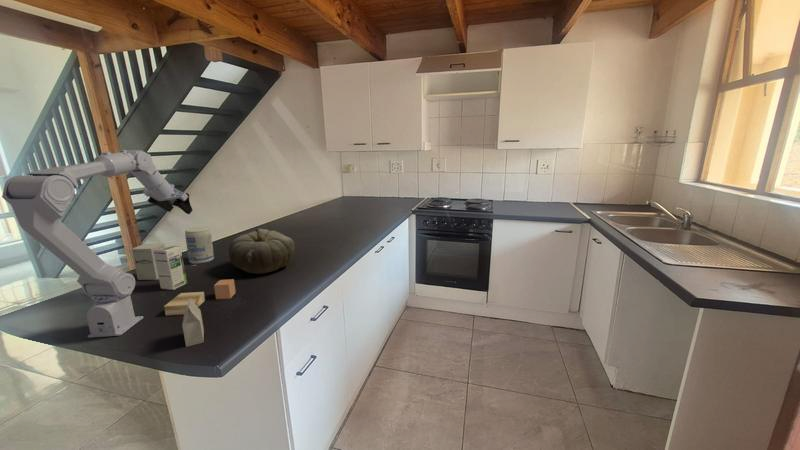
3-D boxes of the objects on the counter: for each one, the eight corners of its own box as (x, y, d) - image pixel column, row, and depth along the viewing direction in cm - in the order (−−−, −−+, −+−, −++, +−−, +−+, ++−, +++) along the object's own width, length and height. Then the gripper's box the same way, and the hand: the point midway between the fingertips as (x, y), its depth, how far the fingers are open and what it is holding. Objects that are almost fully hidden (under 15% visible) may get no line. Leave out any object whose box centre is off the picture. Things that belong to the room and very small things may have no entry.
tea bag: (203, 329, 86) (198, 296, 84) (203, 342, 80) (197, 306, 78) (187, 333, 84) (181, 299, 82) (186, 346, 78) (179, 310, 76)
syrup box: (173, 290, 111) (166, 250, 107) (160, 288, 112) (152, 249, 108) (187, 283, 116) (181, 246, 113) (174, 282, 117) (167, 245, 114)
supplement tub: (188, 265, 134) (182, 232, 131) (190, 259, 142) (185, 227, 139) (214, 262, 139) (209, 229, 135) (215, 256, 147) (210, 225, 143)
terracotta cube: (230, 298, 104) (228, 284, 103) (216, 299, 104) (213, 285, 102) (235, 292, 108) (233, 279, 107) (221, 293, 108) (219, 280, 107)
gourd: (263, 249, 148) (261, 214, 141) (308, 263, 141) (308, 227, 134) (217, 273, 126) (212, 233, 119) (268, 291, 119) (265, 250, 112)
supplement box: (137, 280, 119) (130, 248, 116) (151, 273, 126) (145, 243, 124) (156, 280, 119) (150, 248, 117) (170, 272, 127) (164, 242, 124)
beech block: (191, 313, 94) (189, 304, 93) (165, 315, 93) (163, 306, 93) (205, 300, 103) (203, 291, 102) (182, 301, 102) (180, 293, 101)
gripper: (182, 176, 100) (205, 204, 111) (143, 172, 103) (169, 200, 113) (168, 192, 96) (193, 219, 107) (128, 187, 98) (156, 215, 109)
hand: (180, 210), depth 110 cm, fingers open, 7 cm apart
